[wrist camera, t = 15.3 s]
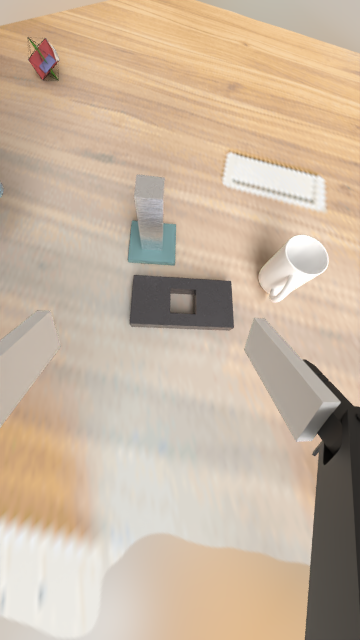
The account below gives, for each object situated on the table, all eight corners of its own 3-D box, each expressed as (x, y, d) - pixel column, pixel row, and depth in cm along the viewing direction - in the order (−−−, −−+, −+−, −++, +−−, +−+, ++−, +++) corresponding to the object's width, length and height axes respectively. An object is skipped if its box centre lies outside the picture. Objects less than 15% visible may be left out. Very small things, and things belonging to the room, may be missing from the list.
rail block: (131, 326, 38) (129, 323, 36) (135, 280, 41) (133, 275, 38) (229, 330, 40) (233, 327, 37) (227, 286, 42) (231, 281, 40)
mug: (279, 317, 42) (317, 300, 32) (245, 300, 42) (272, 278, 32) (295, 274, 45) (333, 247, 35) (264, 258, 45) (293, 227, 36)
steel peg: (141, 249, 42) (134, 196, 29) (143, 232, 43) (136, 174, 30) (162, 250, 42) (163, 199, 30) (163, 233, 43) (164, 177, 31)
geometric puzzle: (34, 79, 50) (37, 33, 45) (20, 64, 51) (21, 17, 46) (62, 95, 56) (67, 55, 51) (49, 81, 57) (52, 41, 52)
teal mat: (128, 262, 42) (127, 259, 41) (132, 223, 44) (131, 220, 43) (174, 265, 43) (175, 262, 42) (175, 227, 45) (176, 224, 44)
